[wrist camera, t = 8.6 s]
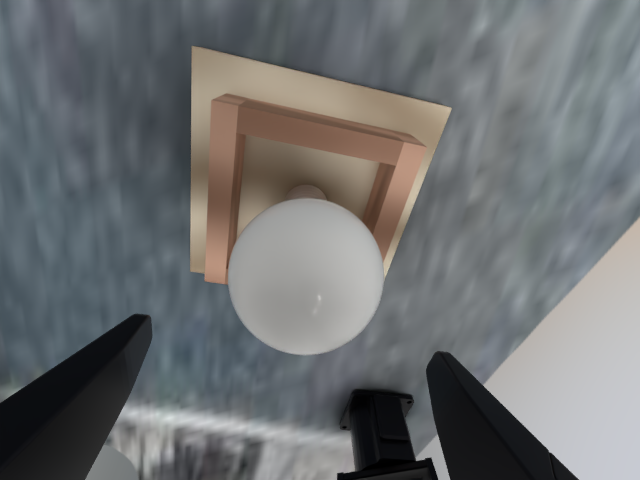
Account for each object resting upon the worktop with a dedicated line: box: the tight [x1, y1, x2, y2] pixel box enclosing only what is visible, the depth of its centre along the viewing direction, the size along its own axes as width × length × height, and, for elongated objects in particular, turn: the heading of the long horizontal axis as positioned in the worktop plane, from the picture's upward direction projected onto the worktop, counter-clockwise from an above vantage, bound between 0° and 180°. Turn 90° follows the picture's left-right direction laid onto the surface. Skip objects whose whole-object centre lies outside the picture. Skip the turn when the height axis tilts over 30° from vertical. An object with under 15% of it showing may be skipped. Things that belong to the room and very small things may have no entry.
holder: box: [190, 46, 452, 285], centre depth 19 cm, size 14×14×4 cm
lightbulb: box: [228, 185, 384, 355], centre depth 15 cm, size 6×6×11 cm
